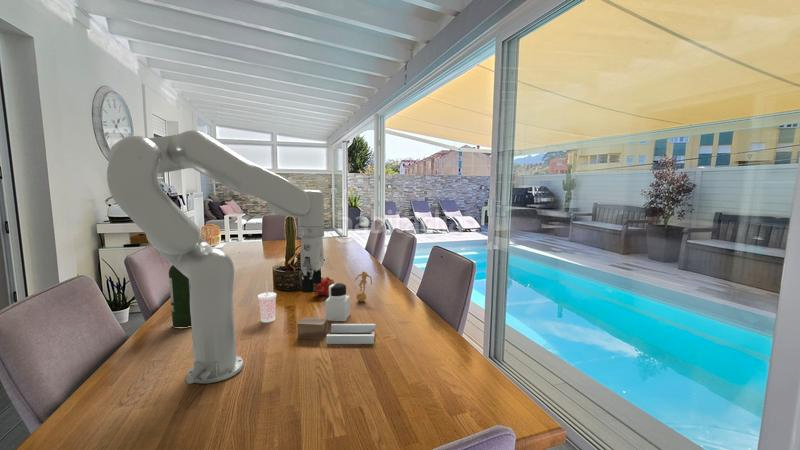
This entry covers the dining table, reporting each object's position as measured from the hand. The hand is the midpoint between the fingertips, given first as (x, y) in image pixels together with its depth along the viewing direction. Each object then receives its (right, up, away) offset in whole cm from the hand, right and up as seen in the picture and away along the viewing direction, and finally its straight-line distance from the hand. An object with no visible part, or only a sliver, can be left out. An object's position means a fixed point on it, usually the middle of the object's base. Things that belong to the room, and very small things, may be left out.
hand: (312, 287), depth 109 cm
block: (0, -16, +3) cm, 16 cm away
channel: (+12, -16, +2) cm, 20 cm away
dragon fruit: (-5, -11, +44) cm, 46 cm away
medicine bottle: (+5, -14, +19) cm, 24 cm away
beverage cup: (-19, -14, +16) cm, 29 cm away
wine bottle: (-45, -15, +12) cm, 49 cm away
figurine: (+12, -12, +36) cm, 40 cm away
